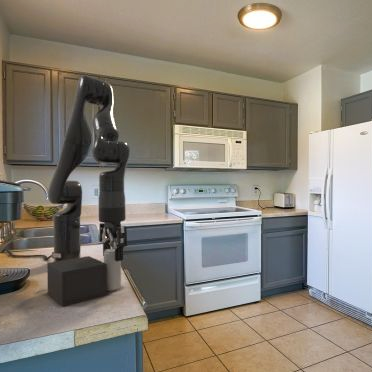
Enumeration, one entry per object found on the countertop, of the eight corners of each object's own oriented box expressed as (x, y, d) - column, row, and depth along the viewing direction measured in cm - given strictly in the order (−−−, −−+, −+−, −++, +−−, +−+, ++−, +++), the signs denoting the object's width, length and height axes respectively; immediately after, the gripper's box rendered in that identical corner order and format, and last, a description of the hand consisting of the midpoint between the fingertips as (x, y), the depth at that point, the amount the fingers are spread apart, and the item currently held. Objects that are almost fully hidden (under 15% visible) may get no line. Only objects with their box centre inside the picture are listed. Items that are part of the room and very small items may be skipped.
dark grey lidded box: (47, 293, 92) (47, 262, 92) (89, 284, 101) (89, 256, 101) (62, 306, 83) (61, 272, 83) (106, 294, 91) (106, 263, 91)
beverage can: (123, 286, 99) (123, 248, 99) (117, 291, 94) (117, 251, 94) (107, 286, 99) (107, 248, 99) (101, 291, 94) (100, 251, 94)
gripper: (135, 206, 94) (135, 260, 94) (114, 204, 104) (114, 253, 104) (109, 207, 88) (110, 265, 89) (90, 205, 98) (91, 257, 98)
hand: (112, 258), depth 96 cm, fingers open, 8 cm apart
